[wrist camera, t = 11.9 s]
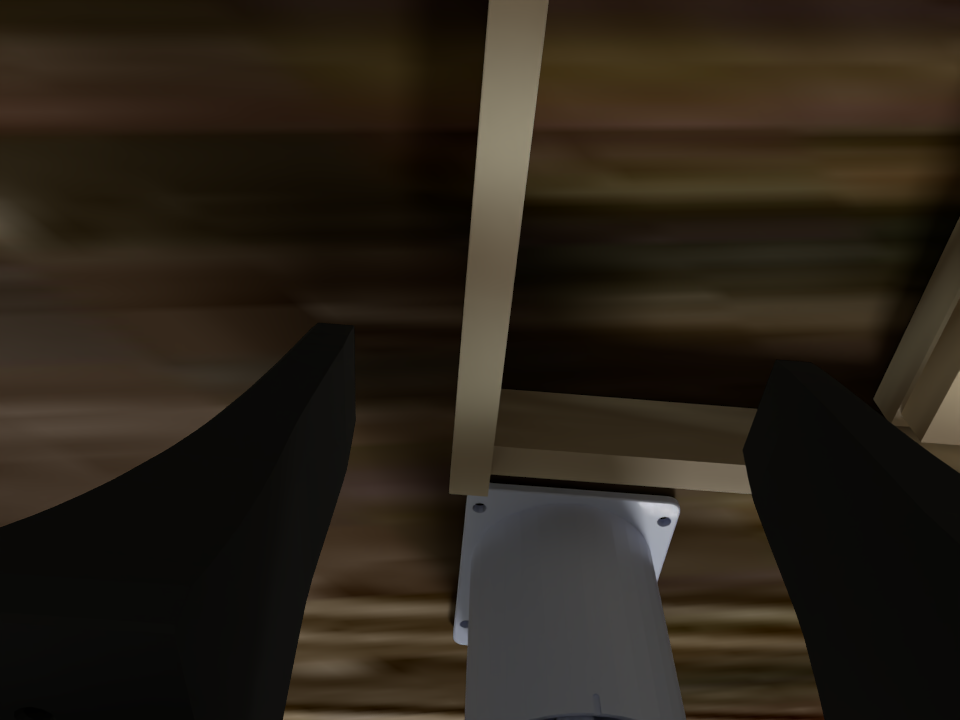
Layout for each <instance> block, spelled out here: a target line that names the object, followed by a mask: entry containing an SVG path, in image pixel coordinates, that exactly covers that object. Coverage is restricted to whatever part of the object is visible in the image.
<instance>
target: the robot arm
mask: <svg viewBox="0 0 960 720" xmlns="http://www.w3.org/2000/svg"><path fill="white" fill-rule="evenodd" d="M355 421H356V414H355V339H354V326H352V325H340V324H328V323H317V324H316V325H315V326H314V327H312V328H311V329H310V330H309V331H308V332H307V333H306V334H305V335H304V336H303V337H302V338H301V339H300V340H299V341H298V342H297V343H296V344H295V346H294V347H293V348H292V349H291V350H290V351H289V352H288V353H287V354H286V355H284V356H283V357H282V358H281V359H280V360H279V361H278V362H277V363H276V364H275V365H274V366H273V367H272V368H271V369H270V370H269V371H268V372H267V373H266V374H264V375H263V376H262V377H261V378H260V379H259V380H258V381H257V382H256V383H255V384H254V385H253V386H251V387H250V388H249V389H248V390H247V391H246V392H245V393H243V394H242V395H241V396H240V397H239V398H237V399H236V400H235V401H234V402H232V403H231V404H230V405H229V406H227V407H226V408H225V409H224V410H223V411H221V412H220V413H219V414H218V415H216V416H215V417H214V418H213V419H211V420H210V421H209V422H207V423H206V424H205V425H203V426H202V427H200V428H199V429H198V430H196V431H195V432H193V433H192V434H190V435H189V436H187V437H186V438H184V439H183V440H181V441H180V442H178V443H177V444H175V445H174V446H172V447H170V448H169V449H167V450H165V451H164V452H162V453H160V454H159V455H157V456H155V457H153V458H151V459H150V460H148V461H146V462H144V463H142V464H141V465H139V466H137V467H135V468H133V469H132V470H130V471H128V472H126V473H124V474H123V475H121V476H119V477H117V478H115V479H113V480H111V481H109V482H107V483H105V484H103V485H101V486H99V487H97V488H95V489H93V490H91V491H88V492H86V493H84V494H82V495H80V496H78V497H75V498H73V499H71V500H69V501H66V502H64V503H62V504H59V505H57V506H55V507H53V508H50V509H48V510H45V511H43V512H40V513H38V514H35V515H33V516H30V517H27V518H25V519H22V520H19V521H16V522H14V523H11V524H8V525H6V526H3V527H0V720H283V715H284V710H285V705H286V700H287V694H288V689H289V684H290V679H291V674H292V669H293V664H294V658H295V653H296V648H297V644H298V639H299V634H300V629H301V624H302V619H303V614H304V610H305V605H306V600H307V597H308V593H309V589H310V585H311V582H312V578H313V575H314V572H315V569H316V565H317V562H318V559H319V556H320V553H321V550H322V547H323V543H324V540H325V537H326V534H327V531H328V528H329V525H330V522H331V518H332V515H333V512H334V509H335V506H336V503H337V499H338V496H339V493H340V490H341V487H342V484H343V480H344V477H345V474H346V470H347V465H348V460H349V455H350V449H351V444H352V438H353V432H354V427H355ZM742 451H743V456H744V461H745V466H746V471H747V476H748V480H749V485H750V489H751V493H752V497H753V501H754V504H755V507H756V510H757V512H758V515H759V518H760V520H761V523H762V526H763V528H764V531H765V534H766V536H767V539H768V542H769V544H770V547H771V550H772V552H773V555H774V557H775V560H776V562H777V565H778V568H779V570H780V573H781V575H782V578H783V581H784V583H785V586H786V588H787V591H788V593H789V596H790V599H791V601H792V604H793V606H794V609H795V612H796V615H797V618H798V621H799V624H800V627H801V630H802V633H803V636H804V639H805V643H806V647H807V650H808V654H809V658H810V662H811V666H812V669H813V673H814V677H815V681H816V685H817V689H818V693H819V697H820V701H821V706H822V710H823V714H824V719H825V720H960V473H959V472H957V471H956V470H955V469H953V468H952V467H950V466H949V465H947V464H946V463H945V462H943V461H942V460H940V459H939V458H937V457H936V456H934V455H933V454H932V453H930V452H929V451H928V450H926V449H925V448H923V447H922V446H921V445H919V444H918V443H917V442H915V441H914V440H913V439H911V438H910V437H909V436H907V435H906V434H905V433H903V432H902V431H901V430H899V429H898V428H897V427H896V426H894V425H893V424H892V423H890V422H889V421H888V420H887V419H885V418H884V417H883V416H881V415H880V414H879V413H878V412H876V411H875V410H874V409H873V408H871V407H870V406H869V405H867V404H866V403H865V402H864V401H862V400H861V399H860V398H859V397H857V396H856V395H855V394H854V393H852V392H851V391H850V390H848V389H847V388H846V387H845V386H843V385H842V384H841V383H839V382H838V381H837V380H835V379H834V378H833V377H831V376H830V375H829V374H827V373H826V372H825V371H823V370H822V369H820V368H819V367H817V366H816V365H814V364H813V363H811V362H799V361H786V360H776V361H775V363H774V366H773V369H772V371H771V374H770V377H769V379H768V382H767V385H766V388H765V390H764V393H763V396H762V398H761V401H760V404H759V407H758V409H757V412H756V415H755V417H754V420H753V423H752V425H751V428H750V431H749V434H748V436H747V439H746V442H745V444H744V447H743V450H742ZM477 503H481V504H484V505H480V506H479V505H475V504H477ZM679 514H680V506H679V503H678V501H677V500H676V499H675V498H673V497H669V496H658V495H645V494H631V493H618V492H605V491H591V490H578V489H565V488H551V487H538V486H525V485H511V484H498V483H489V490H488V497H486V496H472V495H467V500H466V510H465V520H464V530H463V540H462V550H461V560H460V570H459V580H458V589H457V599H456V609H455V619H454V629H453V639H454V641H455V642H456V643H458V644H461V645H468V649H467V675H466V701H465V720H686V717H685V712H684V707H683V703H682V698H681V693H680V688H679V684H678V679H677V674H676V669H675V665H674V660H673V655H672V650H671V646H670V641H669V636H668V632H667V627H666V622H665V617H664V613H663V608H662V603H661V598H660V594H659V589H658V584H657V581H658V578H659V575H660V572H661V569H662V566H663V563H664V560H665V557H666V554H667V551H668V548H669V544H670V541H671V538H672V535H673V532H674V529H675V526H676V523H677V520H678V517H679ZM661 517H667V518H665V519H660V518H661Z"/></svg>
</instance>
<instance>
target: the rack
mask: <svg viewBox="0 0 960 720" xmlns="http://www.w3.org/2000/svg"><path fill="white" fill-rule="evenodd" d="M548 2H549V0H489V4H488V17H487V29H486V41H485V53H484V65H483V78H482V90H481V102H480V114H479V127H478V139H477V151H476V163H475V175H474V188H473V200H472V212H471V224H470V237H469V249H468V261H467V273H466V285H465V298H464V310H463V322H462V334H461V347H460V359H459V371H458V383H457V396H456V408H455V421H454V434H453V447H452V460H451V473H450V486H449V494H459V495H472V496H486V497H488V490H489V482H490V474H492V475H505V476H518V477H531V478H545V479H558V480H571V481H585V482H598V483H611V484H624V485H638V486H651V487H664V488H678V489H691V490H704V491H717V492H731V493H744V494H752V493H751V489H750V485H749V480H748V476H747V471H746V466H745V461H744V456H743V451H742V450H743V447H744V444H745V442H746V439H747V436H748V434H749V431H750V428H751V425H752V423H753V420H754V417H755V415H756V412H757V409H753V408H740V407H727V406H715V405H702V404H689V403H676V402H664V401H651V400H638V399H626V398H613V397H600V396H587V395H575V394H562V393H549V392H537V391H524V390H511V389H501V385H502V376H503V368H504V360H505V352H506V344H507V336H508V328H509V319H510V311H511V303H512V295H513V287H514V279H515V271H516V262H517V254H518V246H519V238H520V230H521V222H522V214H523V206H524V197H525V189H526V181H527V173H528V165H529V157H530V149H531V140H532V132H533V124H534V116H535V108H536V100H537V92H538V83H539V75H540V67H541V59H542V51H543V43H544V35H545V26H546V18H547V10H548ZM873 400H874V401H875V403H876V404H877V406H878V407H879V409H880V410H881V412H882V413H883V415H884V416H885V418H886V419H887V420H888V421H889V422H890V423H892V424H893V425H894V426H896V427H897V428H898V429H899V430H901V431H902V432H903V433H905V434H906V435H907V436H909V437H910V438H911V439H913V440H914V441H915V442H917V443H918V444H919V445H921V446H922V447H923V448H925V449H926V450H928V451H929V452H930V453H932V454H933V455H934V456H936V457H937V458H939V459H940V460H942V461H943V462H945V463H946V464H947V465H949V466H950V467H952V468H953V469H955V470H956V471H957V472H959V473H960V217H959V219H958V222H957V224H956V226H955V228H954V230H953V232H952V234H951V236H950V238H949V240H948V243H947V245H946V247H945V249H944V251H943V253H942V255H941V257H940V259H939V261H938V264H937V266H936V268H935V270H934V272H933V274H932V276H931V278H930V280H929V283H928V285H927V287H926V289H925V291H924V293H923V295H922V297H921V299H920V301H919V304H918V306H917V308H916V310H915V312H914V314H913V316H912V318H911V320H910V323H909V325H908V327H907V329H906V331H905V333H904V335H903V337H902V339H901V341H900V344H899V346H898V348H897V350H896V352H895V354H894V356H893V358H892V360H891V363H890V365H889V367H888V369H887V371H886V373H885V375H884V377H883V379H882V381H881V384H880V386H879V388H878V390H877V392H876V394H875V396H874V398H873Z"/></svg>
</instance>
